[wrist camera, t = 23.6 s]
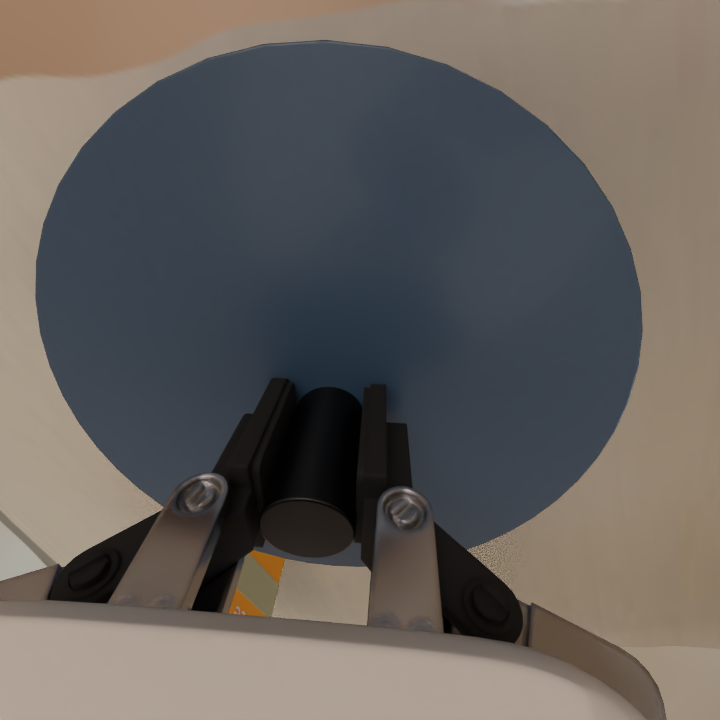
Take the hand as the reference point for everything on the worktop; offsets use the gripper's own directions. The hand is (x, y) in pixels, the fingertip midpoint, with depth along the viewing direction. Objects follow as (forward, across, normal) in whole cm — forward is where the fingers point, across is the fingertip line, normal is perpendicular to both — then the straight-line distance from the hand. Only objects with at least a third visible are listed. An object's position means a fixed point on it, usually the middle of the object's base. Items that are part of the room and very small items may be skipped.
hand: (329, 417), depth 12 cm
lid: (+1, 0, 0) cm, 1 cm away
